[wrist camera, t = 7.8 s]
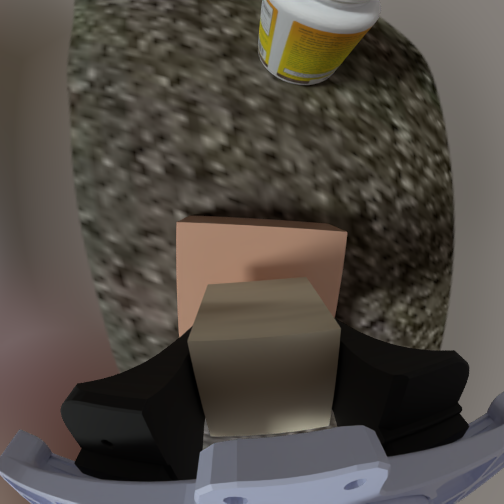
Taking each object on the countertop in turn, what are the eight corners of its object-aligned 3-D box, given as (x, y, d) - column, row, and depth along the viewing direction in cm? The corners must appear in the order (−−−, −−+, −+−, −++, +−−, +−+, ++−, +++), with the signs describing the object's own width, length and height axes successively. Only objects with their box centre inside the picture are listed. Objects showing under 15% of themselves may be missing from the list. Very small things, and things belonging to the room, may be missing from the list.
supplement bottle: (350, 65, 15) (424, -9, 5) (295, 102, 16) (347, 19, 6) (298, 15, 14) (331, -77, 4) (240, 48, 15) (237, -55, 5)
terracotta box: (310, 341, 20) (323, 371, 16) (191, 336, 20) (181, 367, 16) (326, 222, 18) (347, 232, 14) (191, 215, 18) (176, 222, 14)
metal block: (305, 357, 13) (328, 425, 9) (219, 364, 13) (210, 436, 9) (306, 276, 12) (340, 328, 8) (207, 284, 12) (187, 341, 8)
